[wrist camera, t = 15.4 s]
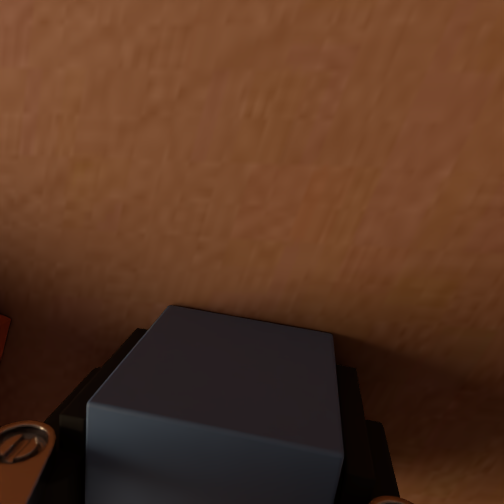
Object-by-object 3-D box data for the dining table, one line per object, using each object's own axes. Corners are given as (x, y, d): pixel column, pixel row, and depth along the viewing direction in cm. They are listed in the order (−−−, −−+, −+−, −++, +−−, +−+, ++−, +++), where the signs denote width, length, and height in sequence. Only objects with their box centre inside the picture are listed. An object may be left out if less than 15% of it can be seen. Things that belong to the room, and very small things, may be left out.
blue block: (333, 332, 11) (345, 455, 7) (305, 470, 13) (301, 647, 8) (168, 303, 12) (84, 402, 7) (158, 440, 13) (81, 591, 9)
